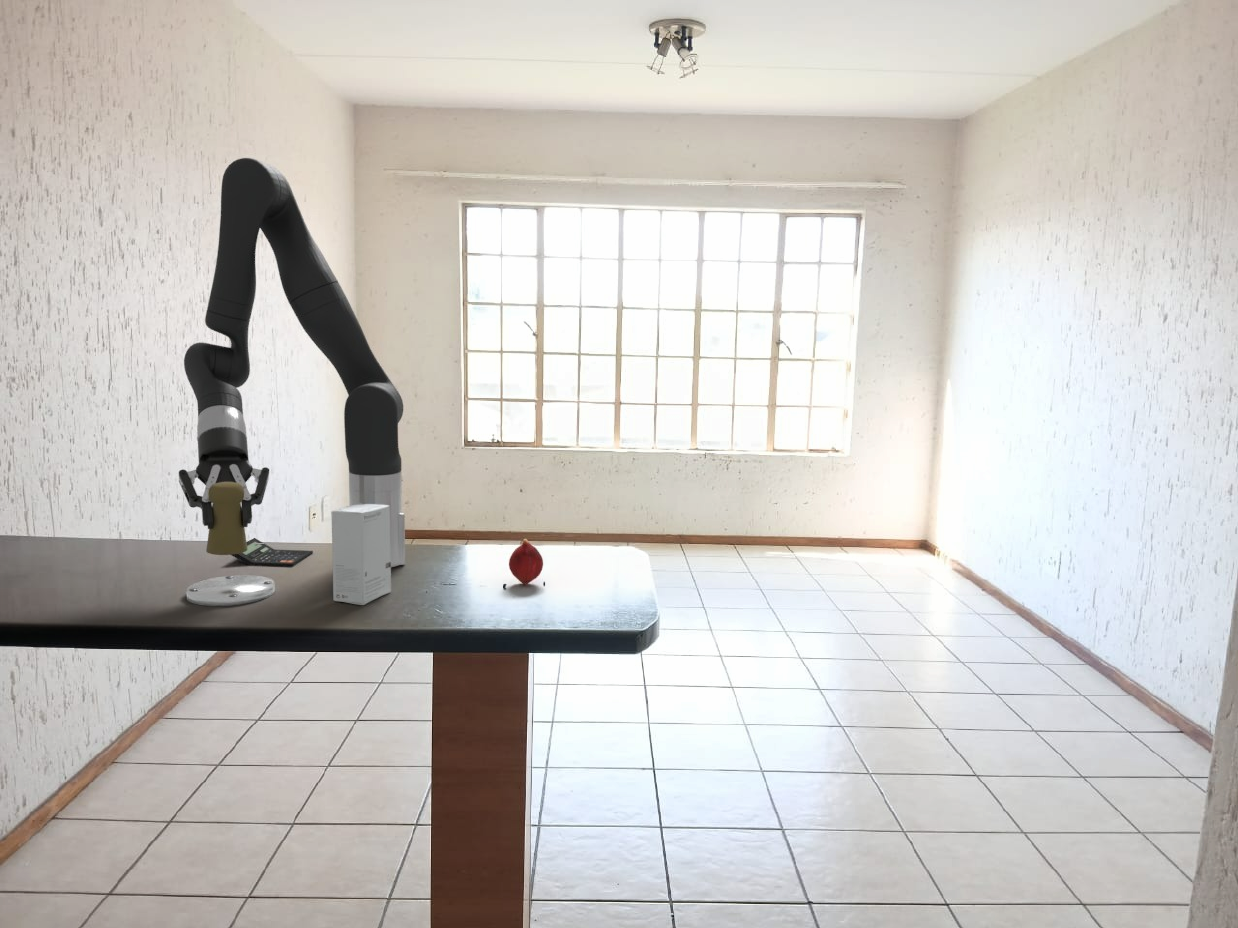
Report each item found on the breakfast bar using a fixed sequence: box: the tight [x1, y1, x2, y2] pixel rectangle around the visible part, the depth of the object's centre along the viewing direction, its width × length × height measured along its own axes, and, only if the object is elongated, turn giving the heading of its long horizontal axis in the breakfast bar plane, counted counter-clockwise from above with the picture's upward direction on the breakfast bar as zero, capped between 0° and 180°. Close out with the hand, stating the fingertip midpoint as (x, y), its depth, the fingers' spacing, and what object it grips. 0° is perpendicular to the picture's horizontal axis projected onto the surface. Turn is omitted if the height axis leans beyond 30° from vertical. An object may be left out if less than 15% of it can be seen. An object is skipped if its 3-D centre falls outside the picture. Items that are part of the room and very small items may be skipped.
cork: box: [205, 482, 248, 556], centre depth 138 cm, size 6×6×11 cm
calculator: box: [231, 537, 314, 568], centre depth 161 cm, size 9×12×3 cm
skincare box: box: [330, 504, 392, 606], centre depth 140 cm, size 8×6×15 cm
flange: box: [185, 574, 276, 607], centre depth 140 cm, size 13×13×1 cm
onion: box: [508, 538, 544, 586], centre depth 150 cm, size 6×6×8 cm
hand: (228, 524), depth 137 cm, fingers closed on cork, 4 cm apart
